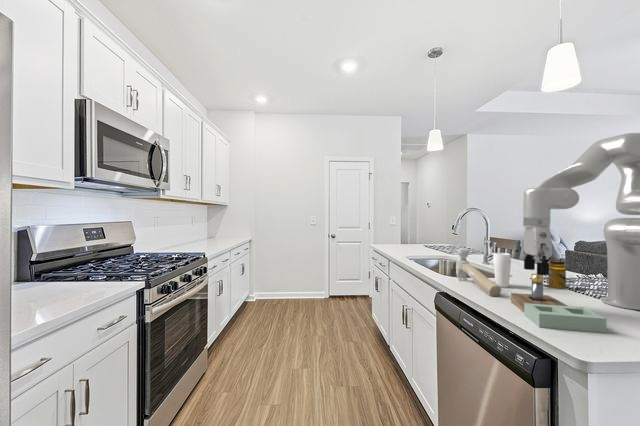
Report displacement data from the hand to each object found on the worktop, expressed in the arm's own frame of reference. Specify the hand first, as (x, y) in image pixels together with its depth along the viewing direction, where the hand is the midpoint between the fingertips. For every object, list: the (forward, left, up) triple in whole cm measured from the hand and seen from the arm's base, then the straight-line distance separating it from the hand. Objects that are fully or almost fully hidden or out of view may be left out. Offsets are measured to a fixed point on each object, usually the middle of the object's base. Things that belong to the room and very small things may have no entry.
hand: (535, 272), depth 98 cm
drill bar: (-1, 0, -13) cm, 13 cm away
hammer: (+12, -27, -13) cm, 32 cm away
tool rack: (-2, +13, -13) cm, 18 cm away
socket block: (-1, 0, -13) cm, 13 cm away
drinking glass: (0, -31, -13) cm, 34 cm away
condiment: (-22, -35, -13) cm, 43 cm away
